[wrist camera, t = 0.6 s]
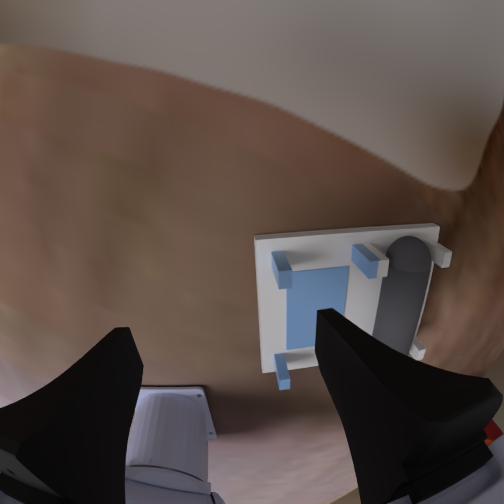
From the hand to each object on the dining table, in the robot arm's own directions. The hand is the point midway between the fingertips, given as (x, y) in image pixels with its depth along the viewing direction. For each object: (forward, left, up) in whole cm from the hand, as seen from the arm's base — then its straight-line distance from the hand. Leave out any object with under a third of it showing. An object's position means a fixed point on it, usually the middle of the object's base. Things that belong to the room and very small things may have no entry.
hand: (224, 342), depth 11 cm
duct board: (-5, -10, -10) cm, 15 cm away
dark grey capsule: (-5, -13, -9) cm, 17 cm away
